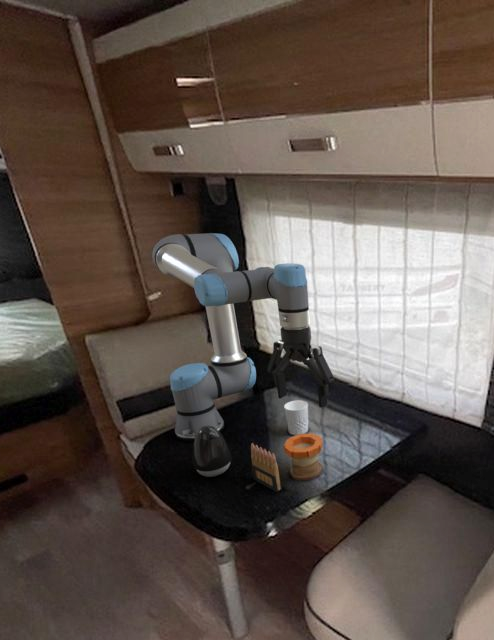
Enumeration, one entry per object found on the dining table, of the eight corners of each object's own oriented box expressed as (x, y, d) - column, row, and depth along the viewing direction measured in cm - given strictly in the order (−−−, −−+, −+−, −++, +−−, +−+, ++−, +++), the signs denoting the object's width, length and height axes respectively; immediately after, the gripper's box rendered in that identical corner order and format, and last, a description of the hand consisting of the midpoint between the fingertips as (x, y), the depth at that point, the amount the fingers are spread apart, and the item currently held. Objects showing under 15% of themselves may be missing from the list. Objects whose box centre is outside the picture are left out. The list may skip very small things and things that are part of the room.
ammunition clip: (282, 488, 117) (277, 452, 112) (277, 492, 116) (272, 455, 111) (258, 475, 122) (252, 440, 118) (253, 478, 121) (247, 443, 116)
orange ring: (278, 448, 121) (277, 442, 121) (309, 435, 128) (308, 430, 128) (298, 462, 115) (297, 456, 114) (329, 448, 122) (328, 442, 121)
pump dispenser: (204, 486, 117) (194, 439, 111) (190, 471, 124) (179, 426, 118) (239, 471, 124) (232, 426, 118) (224, 458, 130) (216, 414, 125)
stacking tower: (284, 471, 125) (281, 448, 121) (310, 459, 131) (308, 437, 128) (301, 484, 119) (299, 460, 116) (328, 471, 125) (326, 448, 122)
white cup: (282, 432, 146) (279, 407, 142) (297, 423, 152) (295, 398, 148) (299, 438, 142) (296, 412, 138) (314, 428, 149) (312, 403, 145)
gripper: (246, 324, 108) (257, 398, 117) (328, 336, 100) (333, 415, 108) (266, 317, 115) (275, 388, 123) (344, 328, 106) (348, 403, 114)
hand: (302, 401), depth 115 cm, fingers open, 13 cm apart
